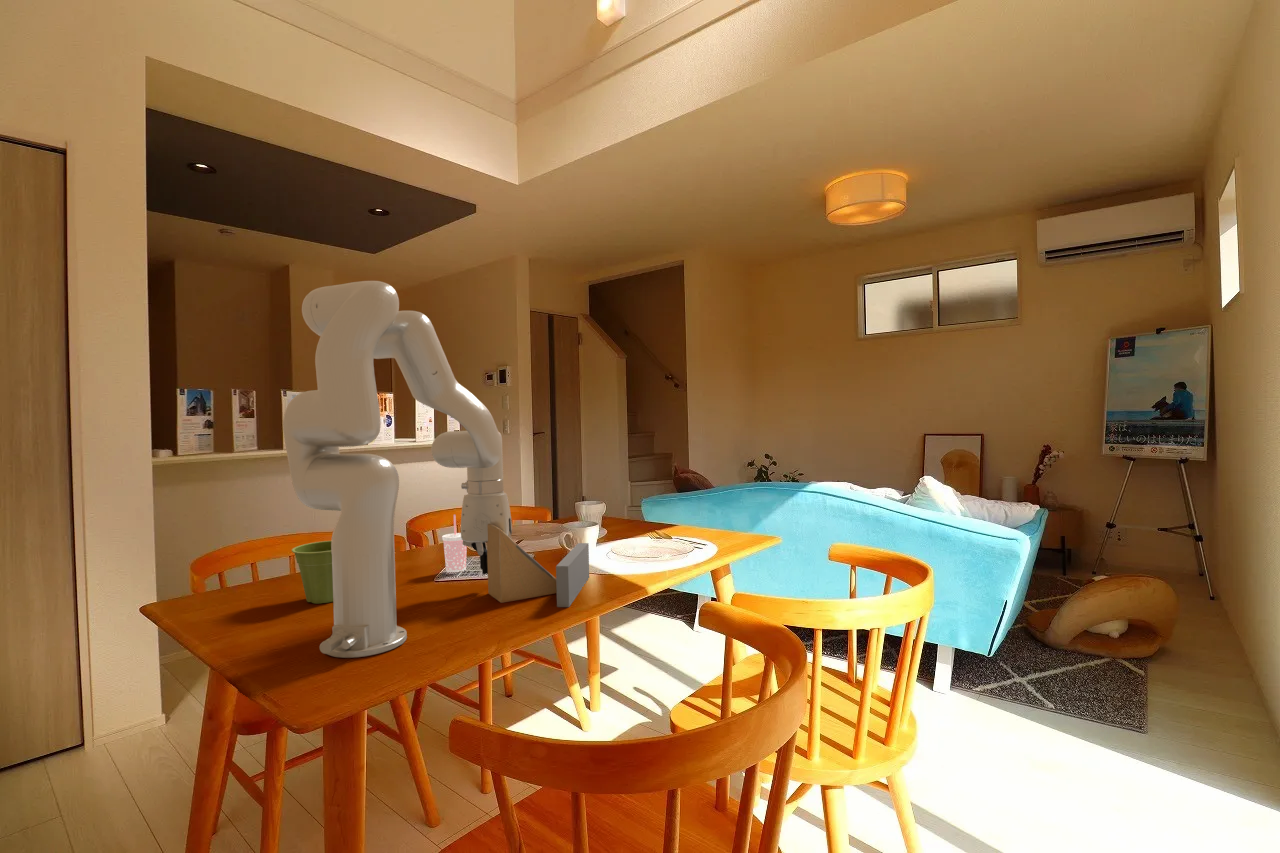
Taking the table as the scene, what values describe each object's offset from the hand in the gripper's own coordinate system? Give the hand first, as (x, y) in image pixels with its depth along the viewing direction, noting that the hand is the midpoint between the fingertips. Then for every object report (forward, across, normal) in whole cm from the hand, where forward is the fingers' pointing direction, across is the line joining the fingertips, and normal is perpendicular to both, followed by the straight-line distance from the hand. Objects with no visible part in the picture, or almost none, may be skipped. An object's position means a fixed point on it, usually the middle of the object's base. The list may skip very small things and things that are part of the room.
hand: (488, 572), depth 135 cm
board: (+4, +19, -1) cm, 19 cm away
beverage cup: (+4, -14, +16) cm, 21 cm away
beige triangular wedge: (+4, +9, -1) cm, 10 cm away
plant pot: (+4, -33, -7) cm, 34 cm away
